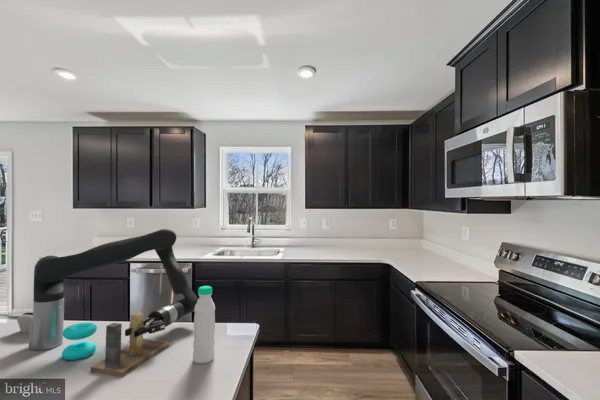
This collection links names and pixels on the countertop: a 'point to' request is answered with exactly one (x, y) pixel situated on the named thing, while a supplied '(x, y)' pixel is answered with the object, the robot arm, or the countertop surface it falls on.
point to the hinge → (25, 321)
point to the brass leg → (134, 342)
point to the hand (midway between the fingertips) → (130, 333)
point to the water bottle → (204, 326)
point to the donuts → (79, 348)
